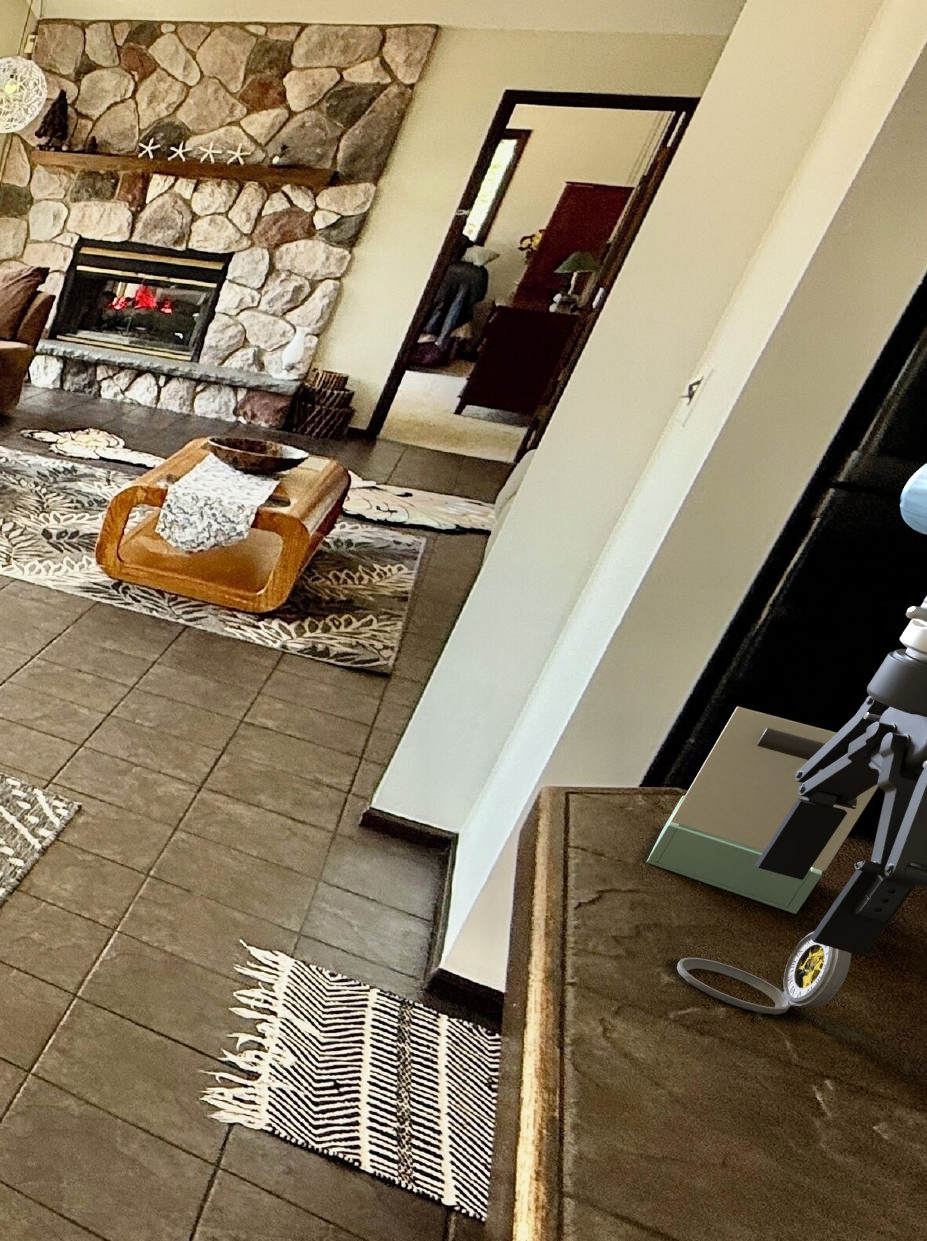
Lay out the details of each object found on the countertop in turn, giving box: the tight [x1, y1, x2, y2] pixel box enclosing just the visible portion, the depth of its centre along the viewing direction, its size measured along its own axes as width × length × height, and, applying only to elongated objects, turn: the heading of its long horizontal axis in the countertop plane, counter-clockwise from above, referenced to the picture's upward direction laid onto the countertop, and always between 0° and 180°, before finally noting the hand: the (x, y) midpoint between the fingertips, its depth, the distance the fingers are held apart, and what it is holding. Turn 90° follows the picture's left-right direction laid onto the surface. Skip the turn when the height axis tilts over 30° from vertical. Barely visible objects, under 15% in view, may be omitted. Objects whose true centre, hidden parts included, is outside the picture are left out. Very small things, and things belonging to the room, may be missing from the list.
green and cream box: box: [646, 795, 823, 915], centre depth 116 cm, size 11×10×5 cm
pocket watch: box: [676, 931, 852, 1015], centre depth 95 cm, size 8×8×10 cm
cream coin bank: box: [671, 706, 879, 872], centre depth 107 cm, size 12×10×9 cm
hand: (805, 908), depth 93 cm, fingers open, 13 cm apart
